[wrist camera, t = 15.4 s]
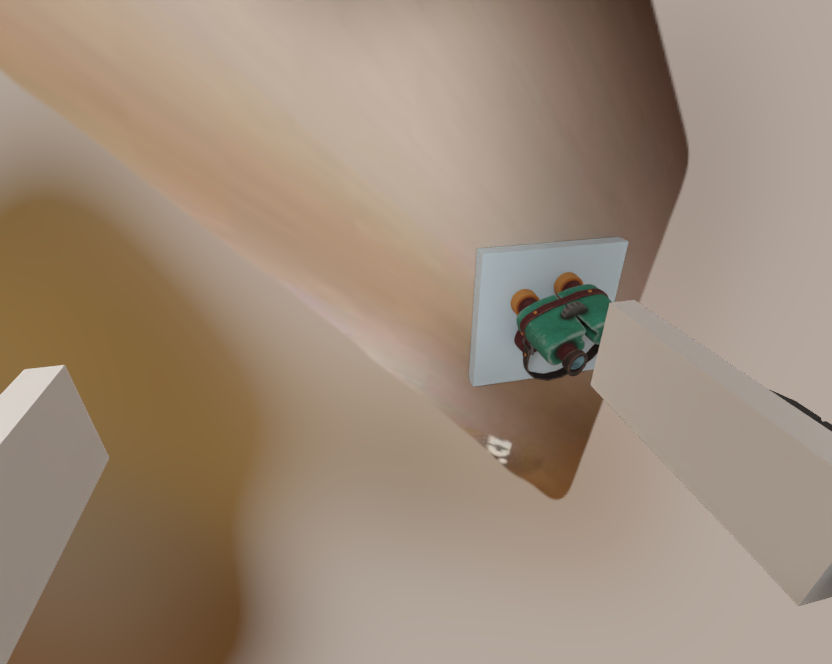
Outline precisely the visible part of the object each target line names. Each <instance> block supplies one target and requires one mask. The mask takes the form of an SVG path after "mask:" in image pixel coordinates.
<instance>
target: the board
mask: <svg viewBox="0 0 832 664" xmlns="http://www.w3.org/2000/svg"><path fill="white" fill-rule="evenodd" d="M628 242H629V241H627V240H625V239H623V238H621V237H611V238H599V239H587V240H575V241H563V242H550V243H538V244H526V245H514V246H502V247H490V248H478V249H477V259H476V274H475V290H474V305H473V320H472V336H471V351H470V366H469V380H470V382H471V384H472V386H473V387H475V386H482V385H489V384H496V383H503V382H510V381H517V380H524V379H531V378H533V377H532V376H530V375H529V374H528V373H527V371H526V370H525V368H524V365H523V355H522V354H523V352H522V351H521V350H520V349H519V348H518V347H517V346H516V345H515V342H514V338H515V335H516V332H517V331H518V326H517V321H516V318H517V315H516V314H515V313H514V311H513V310H512V308H511V299H512V297H513V295H514V294H515V293H516V292H518V291H519V290H522V289H530V290H532V291H533V292H534V293H535V294H536V295H537V296H538V297H539V299H540V300H541V299H543V298H546V297H549V296H551V295H555V296H556V294H555V292H554V283H555V281H556V279H557V278H558V277H559V276H560V275H561V274H563V273H566V272H572V273H574V274H576V275H577V276H578V277H579V278H580V279H581V280H582V281H583V285H585V284H592V285H594V286H596V287H597V288H598V289H600V290H602V291H604V292H605V293H606V294H607V295H608V298H609V299H610V300H611V301H612V302H614V301H615V297H616V292H617V288H618V284H619V280H620V276H621V272H622V267H623V263H624V259H625V255H626V251H627V246H628ZM582 340H583V341H584V342H585V347H584V349H583V350H582V351H584V352H585V353H587V352H588V351H589V349H590V348H591V347H592V346H593V345H594V344H595V343H593V342H592V341H591V340H590V339H589V338H587V337H586V336H585V335H584V336H583V337H582ZM597 354H598V353H597ZM596 359H597V355H596V356H595V357H594V358H593V359H592V360H590V361H589V362H588V363H587V364H586V366H585V368H584V369H583V370H582V371H586V370H593V369H594V367H595V363H596ZM561 368H563V366H562V363H560V364H558V365H550V364H549V363H548V362H547V361H546V360H545V359H544V358H543V357H542V356H541V355H540V354H539V353H538V351H537V352H535V353H534V355H531V356H530V358H529V364H528V369H529V371H531V372H536V373H542V374H544V373H548V372H552V371H556V370H559V369H561Z"/></svg>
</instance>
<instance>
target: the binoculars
mask: <svg viewBox="0 0 832 664" xmlns="http://www.w3.org/2000/svg"><path fill="white" fill-rule="evenodd" d="M554 292H555V294H556V296H555V295H551V296H549V297H546V298H543V299H541V300H540V299H539V297H538V296H537V295H536V294H535V293H534V292H533V291H532V290H530V289H522V290H519V291H518V292H516V293H515V294H514V295H513V297H512V299H511V308H512V310H513V311H514V313H515V314H516V315H517V318H516V321H517V326H518V331H517V332H516V335H515V338H514V342H515V345H516V346H517V347H518V348H519V349H520V350H521V351H522V352H523V354H522V355H523V365H524V368H525V370H526V371H527V373H528V374H529V375H530V376H532V377H533V378H534V379H540V380H546V381H548V380H552V379H557V378H561V377H563V376H565V375H567V374H569V375H570V376H576V375H578V374H579V373H580V372H581V371H582V370H583V369H584V368H585V366H586V364H587V363H588V362H589V361H590V360H592V359H593V358H594V357H595V356H596V355H597V353H598V350H599V346H600V341H601V337H602V333H603V329H604V324H605V320H606V316H607V311H608V307H609V303H612V301H611V300H610V299H609V298H608V295H607V294H606V293H605V292H604V291H602V290H600V289H598V288H597V287H596V286H594V285H592V284H585V285H583V281H582V280H581V279H580V278H579V277H578V276H577V275H576V274H574V273H572V272H566V273H563V274H561V275H560V276H559V277H558V278H557V279H556V281H555V283H554ZM584 335H585V336H586V337H587V338H589V339H590V340H591V341H592V342H593V343H595V344H594V345H593V346H592V347H591V348H590V349H589V351H588V352H587V353H585V352H584V351H582V350H583V349H584V347H585V342H584V341H583V340H582V337H583V336H584ZM537 351H538V353H539V354H540V355H541V356H542V357H543V358H544V359H545V360H546V361H547V362H548V363H549V364H550V365H558V364H560V363H562V366H563V368H561V369H559V370H556V371H552V372H548V373H544V374H542V373H536V372H531V371H529V369H528V364H529V358H530V356H531V355H534V353H535V352H537Z"/></svg>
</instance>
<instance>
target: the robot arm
mask: <svg viewBox="0 0 832 664" xmlns="http://www.w3.org/2000/svg"><path fill="white" fill-rule="evenodd" d="M590 385H591V386H592V387H593V388H594V389H595V391H596V392H597V393H598V394H599V395H600V396H601V397H602V398H603V399H604V400H605V401H606V402H607V403H608V404H609V405H610V406H611V407H612V409H613V410H614V411H615V412H616V413H617V414H618V415H619V416H620V417H621V418H622V419H623V420H624V421H625V422H626V423H627V425H628V426H629V427H630V428H631V429H632V430H633V431H634V432H635V433H636V434H637V435H638V436H639V437H640V438H641V439H642V441H643V442H644V443H645V444H646V445H647V446H648V447H649V448H650V449H651V450H652V451H653V452H654V453H655V454H656V455H657V456H658V458H659V459H661V461H662V462H663V463H664V464H665V465H666V466H667V467H668V468H669V469H670V470H671V471H672V472H673V473H674V474H675V476H676V477H677V478H678V479H679V480H680V481H681V482H682V483H683V484H684V485H685V486H686V487H687V488H688V489H689V491H690V492H691V493H692V494H693V495H694V496H695V497H696V498H697V499H698V500H699V501H700V502H701V503H702V504H703V505H704V506H705V508H706V509H707V510H708V511H709V512H710V513H711V514H712V515H713V516H714V517H715V518H716V519H717V520H718V521H719V522H720V523H721V524H722V525H723V527H724V528H725V529H726V530H727V531H728V532H729V533H730V534H731V535H732V536H733V537H734V538H735V539H736V540H737V542H739V544H741V546H742V547H743V548H744V549H745V550H746V551H747V552H748V553H749V554H750V555H751V556H752V557H753V558H754V560H756V562H757V563H758V564H759V565H760V566H761V567H762V568H763V569H764V570H765V571H766V572H767V573H768V575H769V576H770V577H771V578H772V579H773V580H774V581H775V582H776V583H777V584H778V585H779V586H780V587H781V588H782V589H783V590H784V592H785V593H786V594H787V595H788V596H789V597H790V598H791V599H792V600H793V601H794V602H795V603H796V604H797V605H798V606H801V605H805V604H808V603H812V602H815V601H819V600H823V599H826V598H829V597H832V425H831V424H829V423H828V422H826V421H825V422H822V421H821V418H820V417H819V416H817V415H816V414H814V413H813V412H811V411H810V410H808V409H807V408H805V407H804V406H802V405H801V404H799V403H798V402H796V401H794V400H792V399H789V398H787V397H785V396H783V395H780V394H778V393H776V392H774V391H771V390H769V389H767V388H766V387H764V386H762V385H761V384H760V383H758V382H756V381H755V380H754V379H752V378H751V377H749V376H748V375H746V374H745V373H743V372H742V371H740V370H739V369H737V368H736V367H734V366H733V365H731V364H730V363H728V362H727V361H725V360H724V359H722V358H721V357H719V356H718V355H716V354H715V353H713V352H712V351H710V350H709V349H707V348H706V347H704V346H702V345H701V344H700V343H698V342H697V341H695V340H694V339H692V338H691V337H689V336H688V335H686V334H685V333H683V332H682V331H680V330H679V329H677V328H676V327H674V326H673V325H671V324H670V323H668V322H667V321H665V320H664V319H662V318H661V317H659V316H658V315H656V314H655V313H653V312H652V311H650V310H649V309H647V308H646V307H644V306H643V305H641V304H640V303H638V302H637V301H635V300H629V301H620V302H612V303H609V307H608V311H607V316H606V320H605V324H604V329H603V333H602V337H601V341H600V346H599V350H598V354H597V359H596V363H595V367H594V371H593V376H592V380H591V384H590ZM108 460H109V456H108V454H107V452H106V450H105V448H104V446H103V444H102V441H101V439H100V437H99V435H98V433H97V431H96V429H95V427H94V425H93V423H92V421H91V418H90V417H89V414H88V412H87V410H86V408H85V406H84V404H83V402H82V400H81V398H80V395H79V393H78V391H77V389H76V387H75V385H74V383H73V381H72V379H71V377H70V375H69V372H68V371H67V369H66V366H65V365H60V366H51V367H43V368H33V369H26V370H23V371H22V373H21V374H20V375H19V376H18V377H17V378H16V379H15V380H14V381H13V382H12V383H11V384H10V385H9V386H8V388H6V390H5V391H4V392H3V393H2V394H1V395H0V664H7V662H8V660H9V658H10V656H11V654H12V652H13V650H14V648H15V646H16V644H17V642H18V640H19V638H20V636H21V634H22V632H23V630H24V628H25V626H26V624H27V622H28V620H29V618H30V616H31V614H32V612H33V610H34V607H35V606H36V604H37V602H38V600H39V598H40V596H41V594H42V592H43V590H44V587H45V585H46V584H47V582H48V580H49V578H50V576H51V574H52V572H53V570H54V568H55V566H56V564H57V562H58V560H59V558H60V555H61V554H62V552H63V550H64V548H65V546H66V544H67V542H68V540H69V537H70V536H71V533H72V532H73V530H74V528H75V526H76V524H77V522H78V520H79V518H80V516H81V514H82V512H83V510H84V508H85V506H86V504H87V502H88V500H89V498H90V496H91V493H92V492H93V490H94V488H95V486H96V484H97V482H98V480H99V478H100V476H101V474H102V472H103V469H104V467H105V465H106V464H107V462H108Z"/></svg>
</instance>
